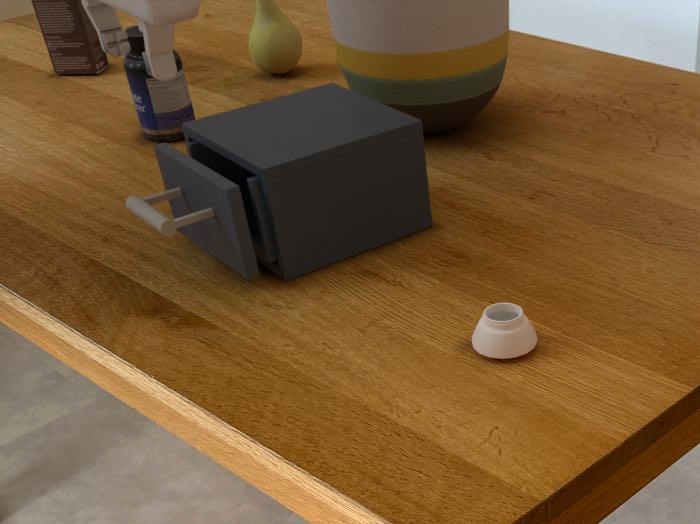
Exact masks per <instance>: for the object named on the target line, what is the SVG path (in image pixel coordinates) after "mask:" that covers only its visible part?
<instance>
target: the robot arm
mask: <svg viewBox="0 0 700 524" xmlns="http://www.w3.org/2000/svg"><path fill="white" fill-rule="evenodd" d="M81 2H82V5H83V7H84V9H85V11H86V12H87V14H88V16H89V18H90V20H91V22H92V24H93V25H94V27H95V29H96V30H97V33H98V37H99V40H100V43H101V47H102V50H103V51H104V52H105V53H106V55H109V56H111V57H114V58H118V57H121V56H126V55H127V54H129V53H130V51H131V47H130V44H129V42H128V36H127V33H126V30H125V29H126V28H123V27H122V24H121V22H120V20H119V19H120V18H119V16H118V14H117V11H118V10H119V11H120V12H123V13H125V14H127V15H129V16H132V17H134V18H135V19H136V23H137V25H138V27H139V30H140V31H141V32H143V36H144V44H145V51H146V52H142V55H143V59H144V62H145V64H146V70H147V73H148V74H149V75H151V76H152V77H154V78H156V79H158V80H161V81H162V80H166V79H170V78H174V77H175V76H176V75H177V67H176V63H175V59H174V55H173V50H174V45H175V31H176V30H175V29H176V28H175V24H179V23H183V22H187V21H191V20H194V19H196V18H197V17H198V15H199V12H200V6H201V0H81ZM116 10H117V11H116Z"/></svg>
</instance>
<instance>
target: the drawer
mask: <svg viewBox="0 0 700 524" xmlns="http://www.w3.org/2000/svg"><path fill="white" fill-rule="evenodd" d="M185 147H186V150H187V151H186V152H187V153H185V152H183V151H181V150H180V149H178V148H176V147H174V146H173V145H171V144H169V143H168V142H161V143H158V144H155V145H153V149H154V154H155V157H156V161H157V165H158V167H159V171H160V175H161V178H162V182H163V185H164V191H162V192H157V193H154V194H152V195H148V196H144V197H142V198H141V197H139V196H138V195H135V194H132V195H129V196H128V197H127V198H126V200H125V207H126V209H127V210H128V211H130V212H131V213H132V214H134V215H135V216H136V217H137V218H138V219H140V220H142V221H143V222H145V223H146V224H148V225H149V226H150V227H151V228H153V229H155V230H156V231H157V232H159V233H160V234H161V235H163V236H165V237H166V238H167V237H169V238H170V237H173V236H174V235H176V233H177V232H178V233H180V234H181V235H183V236H184V237H185V238H187V239H188V240H190V241H191V242H192V243H194V244H196V245H197V246H198V247H199V248H201V249H202V250H204V251H206V252H207V253H208V254H210V255H211V256H212V257H214V258H215V259H217V260H218V261H220V263H223V264H224V265H226V266H227V267H228V268H230V269H231V270H233V271H234V272H235V273H237V274H238V275H239V276H241V277H243V278H244V279H245V280H247V281H249V280H253V279H255V278H257V277H260V276H261V275H260V270H259V266H258V261H256V257H255V254H256V255H257V256H259V257H260V258H262V259H263V260H265V261H266V262H268V263H272V262H275V261H278V259H277V254H276V249H275V245H274V240H273V235H272V231H271V226H270V221H269V217H268V212H267V207H266V203H265V198H264V193H263V189H262V184H261V179H260V177H259V176H257V175H256V174H254V173H252V172H250V171H249V170H247V169H245V168H243V167H241V166H240V165H238V164H236V163H234V162H233V161H231V160H229V159H227V158H226V157H224V156H222V155H220V154H219V153H217V152H215V151H213V150H212V149H210V148H208V147H206V146H205V145H203V144H201V143H199V142H198V141H196V140H195V141H192V142H188V143H186V142H185ZM187 154H188V155H187ZM166 201H168V203H169V206H170V210H171V214H172V219H171V218H170V217H168V216H167V215H165V214H164V213H163V212H161V211H160V210H158V209H157V208H155V207H154V206H152V205H156V204H159V203H162V202H166Z"/></svg>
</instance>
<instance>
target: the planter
mask: <svg viewBox="0 0 700 524" xmlns="http://www.w3.org/2000/svg"><path fill="white" fill-rule="evenodd" d="M325 2H326V3H325V4H326V9H327V13H328V19H329V24H330V29H331V34H332V39H333V44H334V45H333V46H334V49H335V52H336V56H337V60H338V63H339V66H340V69H341V72H342V75H343V77H344V79H345V82H346V84H347V86H348V89H349V90H351V91H353V92H356V93H358V94H360V95H363V96H365V97H368V98H370V99H372V100H375V101H377V102H379V103H382V104H384V105H387V106H389V107H391V108H394V109H396V110H398V111H401V112H403V113H405V114H408V115H410V116H413V117H415V118H417V119H420V120H422V128H423V130H422V131H423V134H430V133H439V132H445V131H446V132H447V131H449V130H453V129H456V128H458V127H461V126H463V125H465V124H467V123H468V122H470V121H471V120H473V119H475V117H477V116H478V115H479V114H480V113H481V112H482V111H484V109H485V108H486V107H487V106H488V105H489V104H490V102H491V101H492V100H493V98H494V97H495V95H496V94H497V92H498V90H499V89H500V86H501V84H502V81H503V78H504V76H505V70H506V66H507V62H508V61H507V60H508V53H509V44H510V43H509V41H510V0H325Z"/></svg>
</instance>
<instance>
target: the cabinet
mask: <svg viewBox="0 0 700 524" xmlns="http://www.w3.org/2000/svg"><path fill="white" fill-rule="evenodd" d="M195 119H196V120H193V121H189V122H185V123H182V124H181V126H182V129H183V133H184V137H185V138H184V140H185V144H186V143H188V142H192V141H195V140H196V141H198V142H199V143H201V144H203V145H205V146H206V147H208V148H210V149H212V150H213V151H215V152H217V153H219V154H220V155H222V156H224V157H226V158H227V159H229V160H231V161H233V162H234V163H236V164H238V165H240V166H241V167H243V168H245V169H247V170H249V171H250V172H252V173H254V174H256V175H257V176H259V177H260V179H261V184H262V189H263V193H264V198H265V203H266V207H267V212H268V217H269V221H270V226H271V231H272V235H273V240H274V245H275V249H276V254H277V259H278V261H275V262H272V263H268V262H266V261H265V260H263V259H262V258H260V257H259V256H257V255H256V254H255V257H256V261H257V263H259V264H261V265H262V266H264V267H265V268H267V269H268V270H269V271H271V272H273V273H274V274H276V275H277V276H279V277H280V278H282V279H283V280H284V281H289V280H292V279H295V278H298V277H301V276H303V275H306V274H308V273H311V272H314V271H317V270H320V269H322V268H324V267H325V268H326V267H327V266H330V265H333V264H335V263H339V262H341V261H343V260H345V259H348V258H351V257H354V256H356V255H359V254H362V253H365V252H368V251H370V250H374V249H376V248H378V247H381V246H383V245H386V244H389V243H392V242H394V241H397V240H400V239H402V238H405V237H408V236H411V235H413V234H416V233H418V232H421V231H423V230H427V229H429V228H432V227H433V218H432V208H431V198H430V189H429V187H430V186H429V178H428V168H427V158H426V150H425V149H426V148H425V139H424V133H423V131H422V130H423V128H422V120H420V119H417V118H415V117H413V116H410V115H408V114H405V113H403V112H401V111H398V110H396V109H394V108H391V107H389V106H387V105H384V104H382V103H379V102H377V101H375V100H372V99H370V98H368V97H365V96H363V95H360V94H358V93H356V92H353V91H351V89H350V88H346V87H344V86H342V85H339V84H337V83H334V82H328V83H326V84H321V85H317V86H314V87H310V88H306V89H303V90H300V91H295V92H292V93H289V94H285V95H281V96H278V97H274V98H271V99H267V100H263V101H259V102H255V103H251V104H248V105H244V106H240V107H238V108H237V107H236V108H234V109H229V110H225V111H222V112H219V113H215V114H211V115H208V116H204V117H200V118H195Z"/></svg>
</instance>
